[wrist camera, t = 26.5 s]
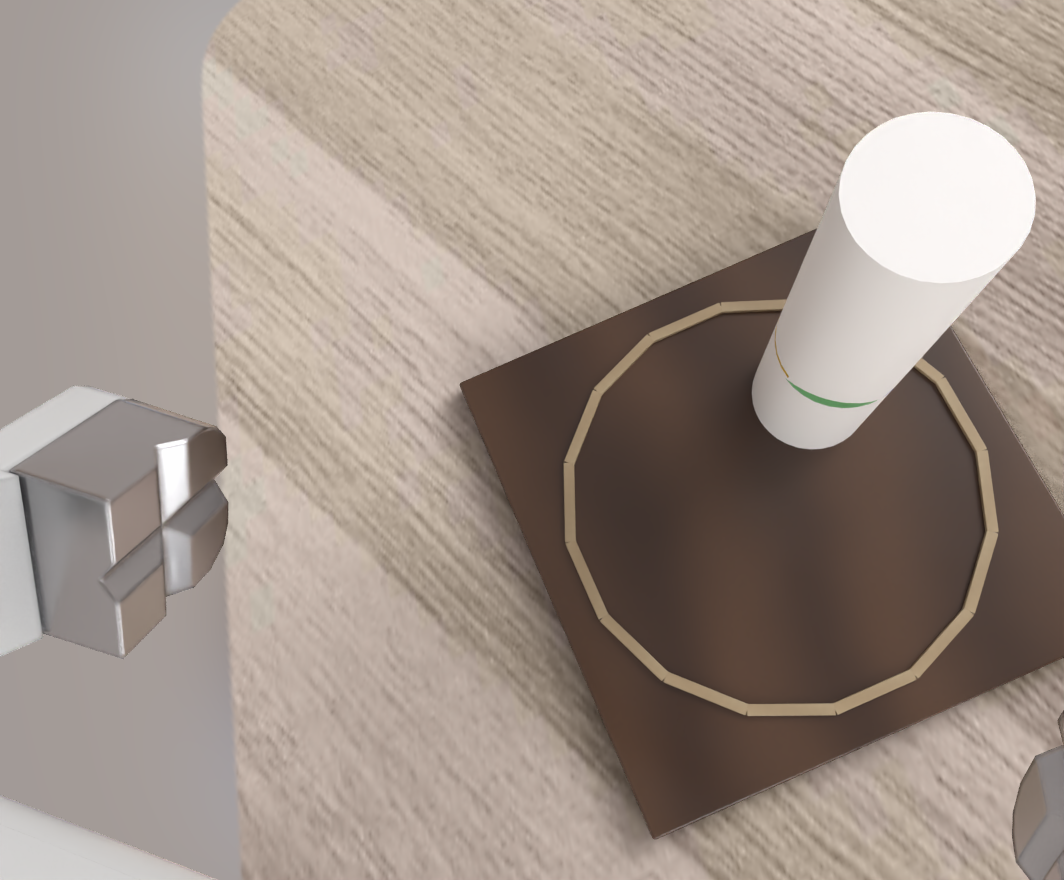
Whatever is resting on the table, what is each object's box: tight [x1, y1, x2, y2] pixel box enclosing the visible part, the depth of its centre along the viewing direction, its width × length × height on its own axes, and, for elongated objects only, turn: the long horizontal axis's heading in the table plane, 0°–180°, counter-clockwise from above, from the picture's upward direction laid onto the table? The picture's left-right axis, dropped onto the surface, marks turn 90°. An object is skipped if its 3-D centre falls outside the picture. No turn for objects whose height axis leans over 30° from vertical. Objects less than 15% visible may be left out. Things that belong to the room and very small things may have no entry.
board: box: [460, 229, 1064, 839], centre depth 36 cm, size 18×18×1 cm
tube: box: [752, 112, 1036, 449], centre depth 29 cm, size 4×4×15 cm
